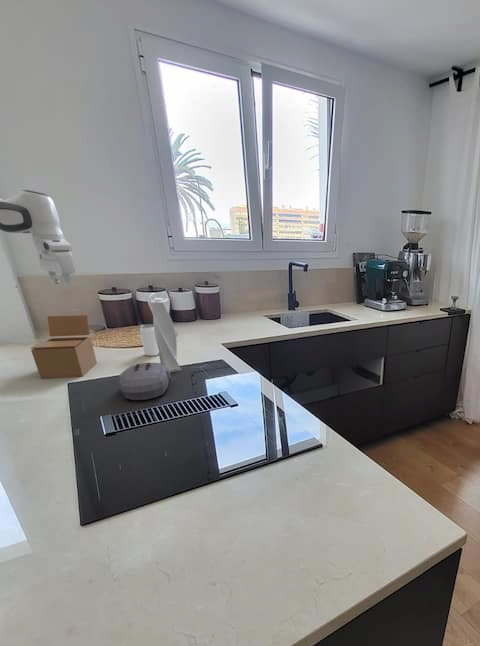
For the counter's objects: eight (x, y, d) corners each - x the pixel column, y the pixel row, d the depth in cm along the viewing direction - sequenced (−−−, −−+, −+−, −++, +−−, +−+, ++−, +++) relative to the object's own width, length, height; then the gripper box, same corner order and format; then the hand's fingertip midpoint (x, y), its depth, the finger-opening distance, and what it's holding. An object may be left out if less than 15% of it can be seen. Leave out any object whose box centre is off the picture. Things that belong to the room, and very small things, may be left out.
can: (148, 357, 161) (142, 328, 156) (142, 353, 165) (136, 325, 160) (164, 354, 165) (159, 326, 160) (158, 350, 169) (152, 323, 164)
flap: (49, 336, 145) (50, 336, 145) (89, 334, 148) (89, 335, 149) (47, 316, 144) (47, 316, 145) (87, 315, 148) (87, 315, 148)
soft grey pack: (125, 382, 136) (116, 405, 119) (120, 359, 132) (110, 380, 115) (173, 377, 141) (170, 399, 124) (168, 355, 138) (166, 374, 121)
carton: (58, 364, 150) (49, 336, 145) (97, 362, 153) (89, 334, 148) (40, 378, 137) (30, 347, 132) (82, 376, 140) (74, 345, 135)
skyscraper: (155, 368, 149) (140, 293, 137) (177, 364, 154) (164, 291, 142) (163, 374, 143) (148, 296, 132) (185, 370, 148) (173, 294, 137)
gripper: (27, 242, 138) (39, 283, 144) (51, 245, 127) (63, 289, 133) (48, 242, 143) (59, 281, 148) (73, 245, 132) (84, 287, 138)
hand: (61, 285), depth 141 cm, fingers open, 8 cm apart
